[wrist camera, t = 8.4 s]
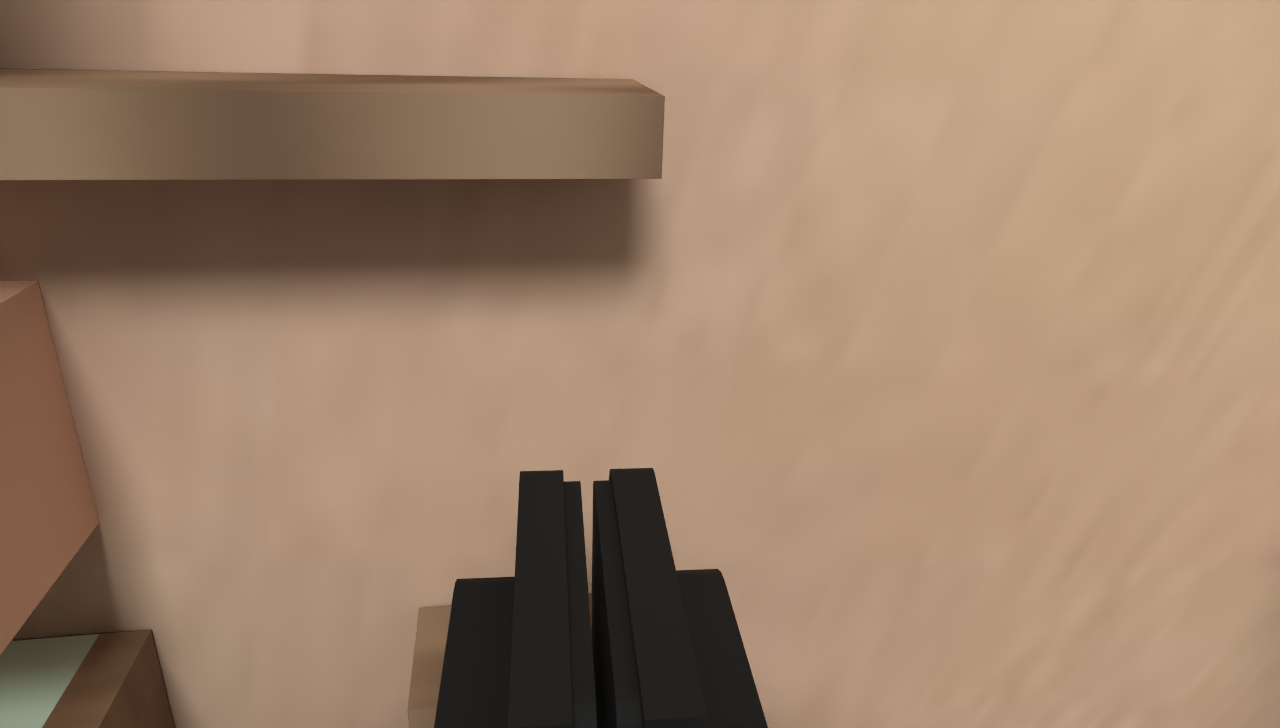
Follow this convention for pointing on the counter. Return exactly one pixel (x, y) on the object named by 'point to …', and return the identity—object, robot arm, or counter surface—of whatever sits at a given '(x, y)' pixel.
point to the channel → (306, 149)
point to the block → (35, 461)
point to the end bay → (37, 677)
